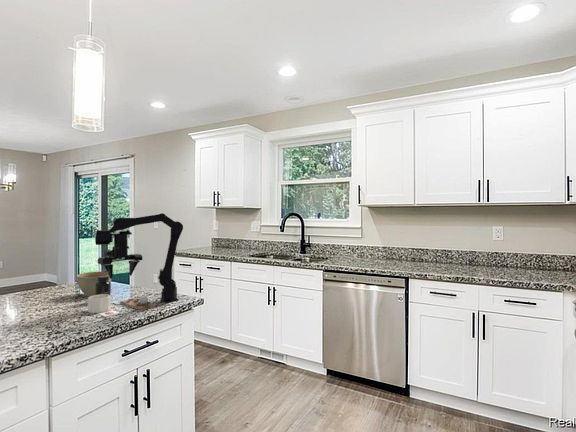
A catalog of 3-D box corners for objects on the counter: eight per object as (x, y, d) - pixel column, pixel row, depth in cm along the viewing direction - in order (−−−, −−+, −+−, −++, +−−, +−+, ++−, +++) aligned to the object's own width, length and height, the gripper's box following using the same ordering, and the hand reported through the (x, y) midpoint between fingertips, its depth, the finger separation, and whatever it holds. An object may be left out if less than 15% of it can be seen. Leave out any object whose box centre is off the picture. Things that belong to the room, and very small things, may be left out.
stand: (136, 300, 163) (136, 296, 163) (156, 306, 152) (156, 303, 152) (120, 303, 157) (120, 300, 157) (140, 310, 146) (140, 306, 146)
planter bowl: (68, 297, 167) (68, 276, 166) (93, 290, 182) (94, 270, 182) (95, 299, 163) (95, 277, 163) (118, 292, 179) (119, 272, 179)
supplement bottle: (103, 303, 157) (103, 278, 157) (91, 302, 158) (91, 277, 158) (113, 299, 163) (114, 275, 163) (102, 298, 165) (102, 274, 165)
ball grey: (145, 302, 154) (145, 294, 154) (149, 304, 152) (149, 295, 152) (136, 304, 151) (136, 295, 151) (141, 306, 149) (141, 297, 149)
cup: (105, 306, 151) (105, 293, 151) (113, 309, 146) (114, 296, 146) (85, 310, 144) (85, 296, 144) (93, 314, 139) (93, 300, 139)
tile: (113, 311, 144) (113, 309, 144) (119, 313, 141) (119, 312, 141) (98, 314, 139) (98, 313, 139) (105, 317, 136) (105, 315, 136)
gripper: (131, 242, 168) (131, 272, 168) (92, 244, 152) (92, 278, 153) (143, 243, 161) (143, 274, 161) (103, 246, 146) (103, 281, 146)
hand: (120, 277), depth 155 cm, fingers open, 9 cm apart
